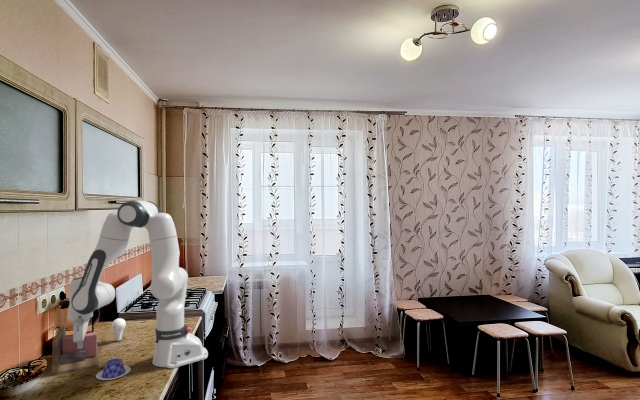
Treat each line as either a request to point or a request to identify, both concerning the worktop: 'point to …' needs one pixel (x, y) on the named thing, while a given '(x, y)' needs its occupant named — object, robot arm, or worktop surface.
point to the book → (88, 344)
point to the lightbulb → (118, 328)
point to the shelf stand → (70, 357)
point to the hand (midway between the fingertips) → (80, 345)
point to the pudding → (113, 369)
